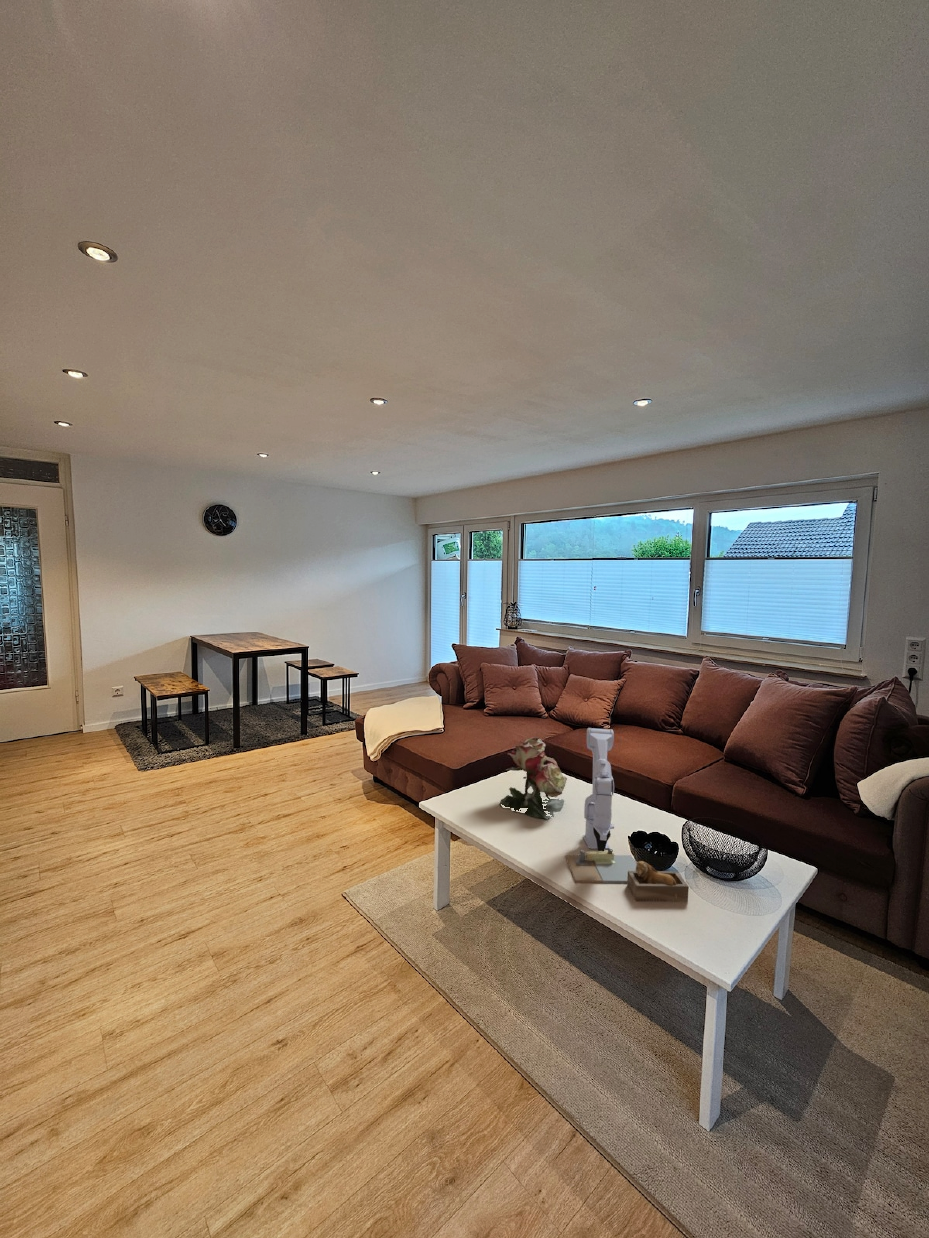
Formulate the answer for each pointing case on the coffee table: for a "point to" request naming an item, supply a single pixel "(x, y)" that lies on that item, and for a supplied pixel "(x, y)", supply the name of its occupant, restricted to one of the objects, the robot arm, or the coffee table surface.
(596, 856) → the latch bar
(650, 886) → the display tray
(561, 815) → the coffee table surface
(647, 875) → the lion figurine
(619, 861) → the door board
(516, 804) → the rose bouquet
